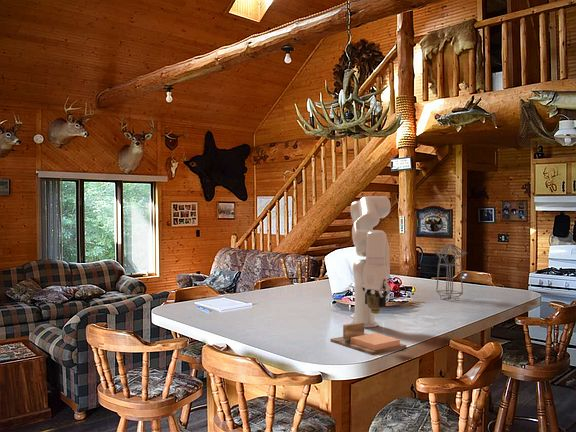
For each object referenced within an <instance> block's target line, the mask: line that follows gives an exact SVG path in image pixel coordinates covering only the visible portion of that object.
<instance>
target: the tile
mask: <svg viewBox="0 0 576 432" xmlns="http://www.w3.org/2000/svg"><path fill="white" fill-rule="evenodd" d="M366 334H367V335H362V336H356V337H351V343H352V344H356V345H359V346H362V347H365V348H368V349H372V350H380V349H385V348H389V347H394V346H399V345H400V343H401V339H399V338H395V337H391V336H388V335H383V334H380V333H379V334H377V332H373V333H366Z"/></svg>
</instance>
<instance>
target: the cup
mask: <svg viewBox="0 0 576 432" xmlns="http://www.w3.org/2000/svg"><path fill="white" fill-rule="evenodd" d="M366 297H367V305H368V307H369V308H370V309H371V313H374V314H375V315H376V314H377V315H378V314H380V312H381V311H380V310H381V309H382V308H383V307H379V297H380V294H379V291H378V292H377V291H375V293H374V294H371V293H369V292H368V294H366Z"/></svg>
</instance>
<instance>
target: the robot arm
mask: <svg viewBox="0 0 576 432" xmlns="http://www.w3.org/2000/svg"><path fill="white" fill-rule="evenodd" d="M391 208H392V207H391V201H390V198H388V196H385V195H384V196H383V195H380V196H379V195H368V196H367V195H366V196H363V197H361V198H360V199H359V200H355V201H353V202H352V203H351V204H350V208H349V210H350V217H351V220H352V222H353V225H352V228H351V235H352V236H351V238H352V242H353V245H354V246H355V252H356V255H357V256H359V257H363V259H358V260H355V261H354V262H353V265H352V270H353V271H352V272H353V279H354V313H352V314H351V315H350V319H352V321H351V323H357V322H363V323H364V329H365V328H369V329H370V328H375V327H378V322H377V321H376V320H375V315H376V314H374V313H371V309H370V308H369V307H368V305H367V297H366V294H368V292H369V293H371V294H374V293H375V292H377V291H378V292H379V294H380V297H379V307H382V308H383V307H386V306H387V297H388V295H389V293H390V292H391V290H392V287H391V286H390V285H389V283H388V279H389V278H390V274H391V273H390V272H391V264H390V263H391V262H390V260H391V259H390V245H389V241H388V234H387V233H386V232H385V231H384V230H381V229H380V230H379V229H374V227H376V226H378V224H379V223H380V221H381V220H380V219H384V218H386V217H387V216H388V215H389V214H390V213H391ZM364 258H365V259H364ZM351 323H350V324H351Z"/></svg>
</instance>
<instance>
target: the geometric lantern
mask: <svg viewBox="0 0 576 432" xmlns="http://www.w3.org/2000/svg"><path fill="white" fill-rule="evenodd" d="M440 250H441V251H440ZM433 253H435V254H436V256H437V257H439V258H438V263H437V274H436V275H437V279H436V288H435V289H436V291H435V292H436V293H437V294H438V295H439V296H440V297H443V298H447V299H449V300H450V299H451V298H452V297H454V295H455V298H459V297H461V296H462V295H463V294H464V290H463V289H464V288H463V264H462V261H461V259H462V258H463V257H464V256H465V255H467V254H468V252H467V251H465V250H463V249H461V248H460V247H458V246H457V245H455V244H453V243H448V244H446V245H444V246H442V247H441V248H438V249H436V250H434V251H433ZM449 254H451V255H452V257H453V259H454V260H451V262H449V260H448V259H447V258H446V257H447V256H448V255H449ZM442 259H443V260H444V262H445V264H444V267H445V266H446V280H445V281H446V283H445V289H444V290H441V291H440V290H438V288H439V277H440V268H441V266H443V263H441V261H442ZM458 259H459V263H460V264H455V262H456V261H457V260H458ZM456 266H457V267H459V268H460V269H459V270H460V281H461V285H460V286H461V291H459V290H458V291H456V290H454V273H453V272H454V267H456ZM441 294H443V295H441ZM451 300H452V299H451Z"/></svg>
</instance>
